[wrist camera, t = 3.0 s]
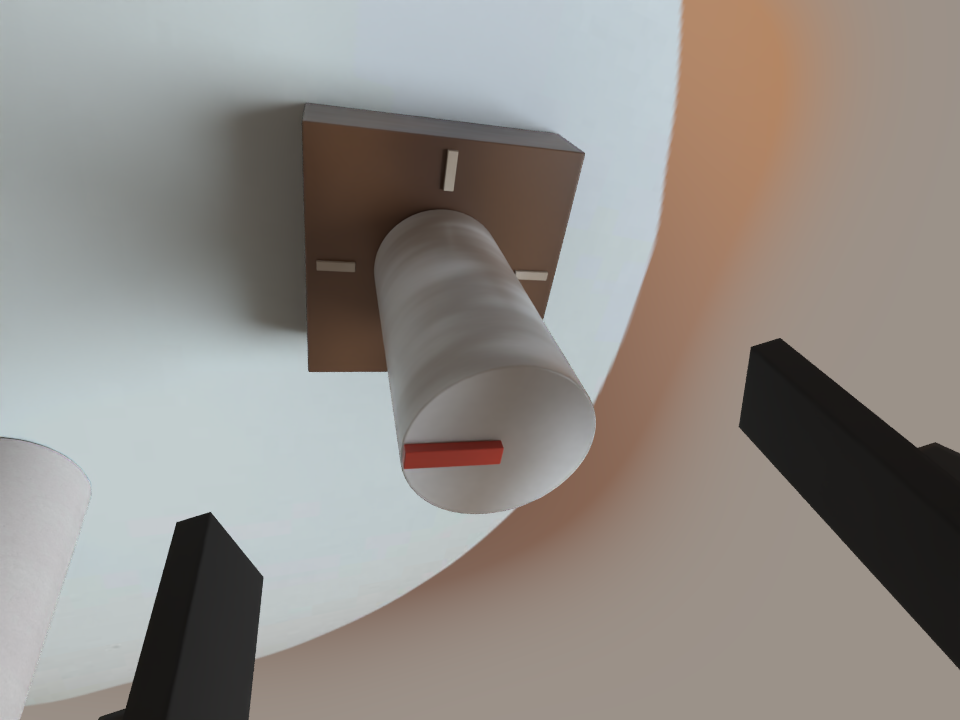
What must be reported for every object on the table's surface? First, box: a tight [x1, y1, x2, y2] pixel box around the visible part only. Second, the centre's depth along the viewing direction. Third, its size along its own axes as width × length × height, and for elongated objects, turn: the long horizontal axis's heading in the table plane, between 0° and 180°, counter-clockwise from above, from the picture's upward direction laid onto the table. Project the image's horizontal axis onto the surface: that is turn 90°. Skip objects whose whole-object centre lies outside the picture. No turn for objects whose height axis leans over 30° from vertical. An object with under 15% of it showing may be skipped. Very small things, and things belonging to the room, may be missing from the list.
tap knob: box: [374, 209, 596, 514], centre depth 17 cm, size 5×5×10 cm
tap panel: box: [302, 103, 585, 372], centre depth 22 cm, size 10×10×3 cm
